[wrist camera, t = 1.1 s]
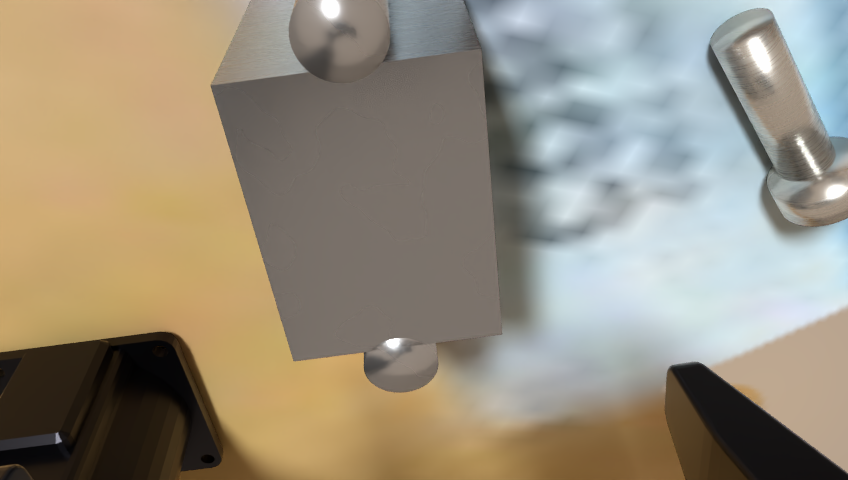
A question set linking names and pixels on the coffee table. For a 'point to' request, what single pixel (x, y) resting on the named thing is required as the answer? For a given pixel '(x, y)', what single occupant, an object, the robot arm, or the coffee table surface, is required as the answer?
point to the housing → (366, 176)
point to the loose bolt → (784, 120)
